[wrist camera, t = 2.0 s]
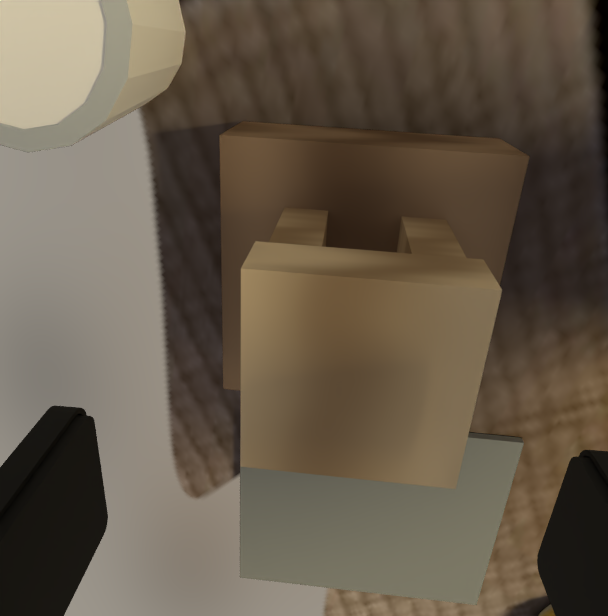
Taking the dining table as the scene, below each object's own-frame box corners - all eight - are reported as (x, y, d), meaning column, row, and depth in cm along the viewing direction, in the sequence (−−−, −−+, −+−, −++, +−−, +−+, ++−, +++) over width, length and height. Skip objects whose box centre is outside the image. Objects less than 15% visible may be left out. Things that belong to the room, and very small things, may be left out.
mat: (521, 437, 26) (523, 442, 26) (475, 598, 32) (476, 605, 31) (241, 410, 27) (240, 414, 27) (241, 571, 32) (240, 577, 32)
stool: (454, 213, 18) (502, 289, 12) (427, 365, 21) (455, 489, 15) (277, 199, 18) (240, 268, 12) (273, 351, 21) (240, 466, 15)
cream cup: (125, 159, 22) (34, 202, 16) (-11, 22, 20) (-175, 9, 14) (239, 34, 20) (185, 26, 14) (96, -134, 18) (-43, -233, 12)
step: (499, 138, 21) (529, 156, 17) (453, 360, 25) (470, 412, 21) (242, 121, 21) (219, 135, 18) (242, 341, 25) (223, 388, 22)
